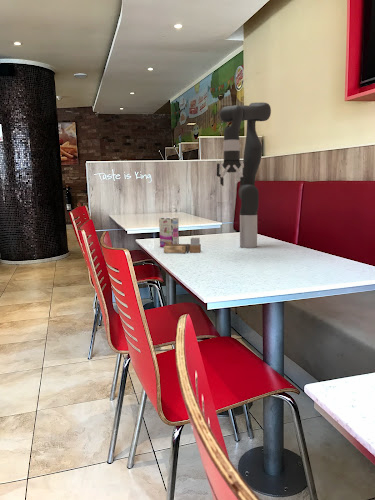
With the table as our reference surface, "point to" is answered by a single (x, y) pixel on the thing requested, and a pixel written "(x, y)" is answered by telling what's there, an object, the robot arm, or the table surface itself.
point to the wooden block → (188, 247)
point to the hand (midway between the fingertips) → (231, 185)
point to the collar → (195, 241)
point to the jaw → (174, 249)
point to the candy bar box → (168, 231)
